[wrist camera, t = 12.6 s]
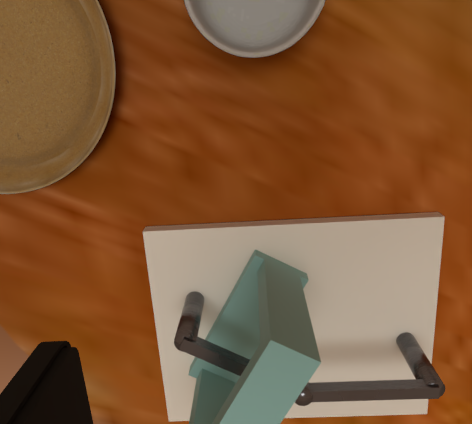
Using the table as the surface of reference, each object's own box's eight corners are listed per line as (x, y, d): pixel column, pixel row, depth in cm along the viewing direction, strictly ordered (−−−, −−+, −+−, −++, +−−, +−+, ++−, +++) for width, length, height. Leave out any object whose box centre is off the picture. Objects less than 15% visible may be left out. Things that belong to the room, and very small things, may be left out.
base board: (438, 212, 44) (444, 216, 43) (422, 404, 51) (426, 413, 50) (145, 226, 45) (142, 231, 44) (171, 411, 53) (168, 421, 51)
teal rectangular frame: (306, 273, 45) (333, 368, 31) (237, 386, 50) (233, 514, 35) (255, 249, 44) (257, 334, 30) (190, 366, 49) (165, 487, 35)
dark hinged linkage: (416, 333, 47) (451, 387, 39) (402, 371, 48) (432, 430, 40) (187, 289, 46) (174, 334, 38) (180, 329, 48) (166, 381, 40)
